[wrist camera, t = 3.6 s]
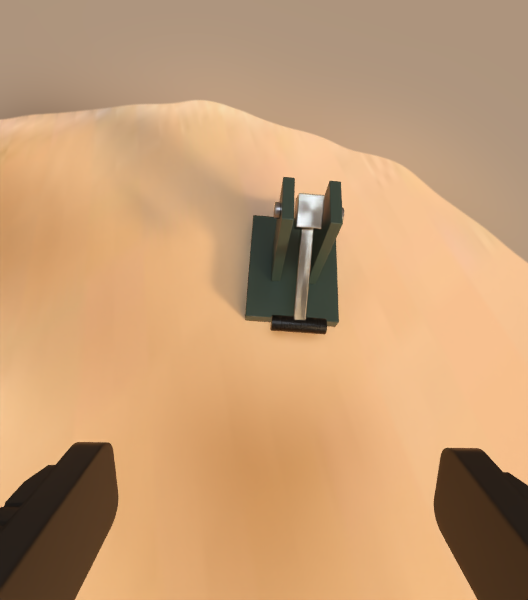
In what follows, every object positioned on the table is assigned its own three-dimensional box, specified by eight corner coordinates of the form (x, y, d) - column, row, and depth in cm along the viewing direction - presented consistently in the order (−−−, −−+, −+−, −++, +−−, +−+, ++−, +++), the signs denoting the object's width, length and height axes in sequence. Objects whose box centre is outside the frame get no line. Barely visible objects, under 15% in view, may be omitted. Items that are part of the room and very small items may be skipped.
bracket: (335, 326, 38) (377, 273, 26) (245, 320, 37) (246, 263, 26) (332, 228, 43) (366, 146, 31) (253, 222, 42) (257, 137, 31)
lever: (322, 331, 33) (327, 336, 30) (270, 327, 32) (271, 333, 30) (334, 201, 31) (341, 196, 29) (280, 196, 31) (282, 191, 29)
